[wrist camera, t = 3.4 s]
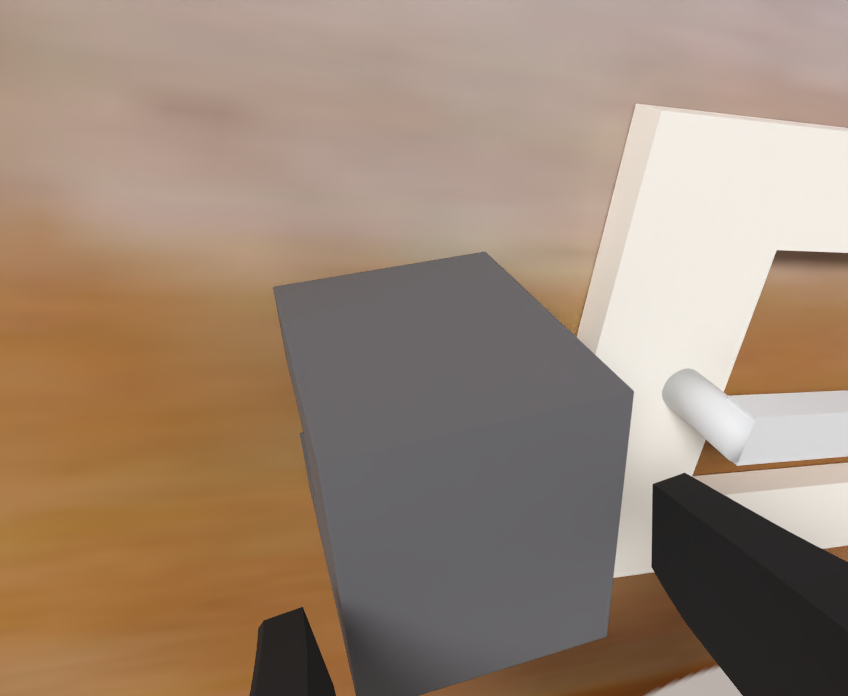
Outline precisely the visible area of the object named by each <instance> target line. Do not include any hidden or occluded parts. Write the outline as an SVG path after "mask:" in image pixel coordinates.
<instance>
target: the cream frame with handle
mask: <svg viewBox="0 0 848 696" xmlns="http://www.w3.org/2000/svg"><path fill="white" fill-rule="evenodd" d="M777 250H787V251H813V252H839V253H848V128H844V127H836V126H827V125H818V124H810V123H801V122H792V121H784V120H775V119H766V118H758V117H749V116H740V115H731V114H723V113H714V112H705V111H697V110H688V109H679V108H671V107H662V106H653V105H644V104H636V106H635V110H634V114H633V118H632V121H631V125H630V129H629V133H628V137H627V141H626V145H625V149H624V153H623V157H622V161H621V165H620V169H619V173H618V177H617V180H616V184H615V188H614V192H613V196H612V200H611V204H610V208H609V212H608V216H607V220H606V224H605V228H604V232H603V236H602V239H601V243H600V247H599V251H598V255H597V259H596V263H595V267H594V271H593V275H592V279H591V283H590V287H589V291H588V295H587V298H586V302H585V306H584V310H583V314H582V318H581V322H580V326H579V330H578V334H577V338H578V339H579V340H580V341H581V342H582V343H583V344H584V345H585V346H586V347H587V348H588V349H590V350H591V351H592V352H593V353H594V354H595V355H596V356H597V357H598V358H599V359H600V360H601V361H602V362H603V363H605V364H606V365H607V366H608V367H609V368H610V369H611V370H612V371H613V372H614V373H615V374H616V375H617V376H618V377H619V378H621V379H622V380H623V381H624V382H625V383H626V384H627V385H628V386H629V387H630V388H631V389H632V390H633V391H634V397H633V406H632V415H631V424H630V433H629V442H628V451H627V460H626V469H625V478H624V487H623V496H622V504H621V513H620V522H619V531H618V540H617V549H616V558H615V567H614V576H613V578H616V577H623V576H630V575H637V574H644V573H652V572H654V570H653V569H652V567H651V562H652V491H653V484H654V483H657V482H660V481H663V480H665V479H668V478H671V477H674V476H677V475H680V474H682V473H686V474H688V475H690V476H692V475H693V472H694V470H695V467H696V464H697V462H698V459H699V456H700V454H701V451H702V448H703V446H704V443H705V440H707V441H708V442H709V443H710V444H711V445H713V446H714V447H715V448H716V449H717V450H718V451H719V452H720V453H721V454H723V455H724V456H725V457H726V458H727V459H728V460H729V461H731V462H733V463H734V464H736V465H737V466H739V465H750V464H762V463H774V462H786V461H798V460H809V459H821V458H833V457H845V456H848V390H847V391H825V392H802V393H780V394H757V395H735V396H728V395H727V394H725V393H724V390H725V387H726V384H727V382H728V379H729V376H730V374H731V371H732V368H733V366H734V363H735V360H736V358H737V355H738V352H739V349H740V347H741V344H742V341H743V339H744V336H745V333H746V331H747V328H748V325H749V323H750V320H751V317H752V315H753V312H754V309H755V307H756V304H757V301H758V299H759V296H760V293H761V291H762V288H763V285H764V283H765V280H766V277H767V275H768V272H769V269H770V267H771V264H772V261H773V259H774V256H775V253H776V251H777ZM692 477H693V478H695V479H697V480H699V481H701V482H702V483H704V484H706V485H708V486H709V487H711V488H713V489H715V490H716V491H718V492H720V493H722V494H723V495H725V496H727V497H729V498H730V499H732V500H734V501H736V502H737V503H739V504H741V505H743V506H744V507H746V508H748V509H750V510H751V511H753V512H755V513H757V514H758V515H760V516H762V517H764V518H766V519H767V520H769V521H771V522H773V523H775V524H776V525H778V526H780V527H782V528H784V529H785V530H787V531H789V532H791V533H793V534H795V535H797V536H798V537H800V538H802V539H804V540H806V541H808V542H810V543H812V544H813V545H815V546H817V547H819V548H821V549H825V548H832V547H839V546H846V545H848V463H837V464H825V465H814V466H803V467H791V468H780V469H769V470H758V471H746V472H735V473H724V474H712V475H701V476H692Z"/></svg>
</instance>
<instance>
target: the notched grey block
mask: <svg viewBox="0 0 848 696" xmlns="http://www.w3.org/2000/svg"><path fill="white" fill-rule="evenodd" d="M273 289H274V294H275V300H276V305H277V311H278V316H279V322H280V327H281V333H282V338H283V344H284V349H285V354H286V359H287V364H288V368H289V372H290V376H291V381H292V385H293V389H294V393H295V397H296V402H297V406H298V410H299V414H300V419H301V423H302V427H303V433H300V437H301V442H302V448H303V453H304V459H305V464H306V469H307V475H308V480H309V486H310V491H311V495H312V500H313V504H314V509H315V513H316V518H317V522H318V527H319V531H320V536H321V540H322V545H323V549H324V554H325V558H326V563H327V567H328V572H329V576H330V581H331V585H332V590H333V594H334V599H335V603H336V608H337V612H338V617H339V621H340V626H341V630H342V635H343V639H344V644H345V648H346V653H347V657H348V662H349V666H350V671H351V675H352V680H353V684H354V689H355V693H356V696H418V695H422V694H425V693H428V692H431V691H434V690H438V689H441V688H444V687H447V686H451V685H454V684H457V683H460V682H463V681H467V680H470V679H473V678H476V677H479V676H483V675H486V674H489V673H492V672H495V671H499V670H502V669H505V668H508V667H511V666H515V665H518V664H521V663H524V662H527V661H531V660H534V659H537V658H540V657H543V656H547V655H550V654H553V653H556V652H559V651H563V650H566V649H569V648H572V647H575V646H579V645H582V644H585V643H588V642H591V641H595V640H598V639H601V638H604V637H607V630H608V621H609V612H610V603H611V594H612V585H613V576H614V567H615V558H616V549H617V540H618V531H619V522H620V513H621V504H622V496H623V487H624V478H625V469H626V460H627V451H628V442H629V433H630V424H631V415H632V406H633V397H634V391H633V390H632V389H631V388H630V387H629V386H628V385H627V384H626V383H625V382H624V381H623V380H622V379H621V378H619V377H618V376H617V375H616V374H615V373H614V372H613V371H612V370H611V369H610V368H609V367H608V366H607V365H606V364H605V363H603V362H602V361H601V360H600V359H599V358H598V357H597V356H596V355H595V354H594V353H593V352H592V351H591V350H590V349H588V348H587V347H586V346H585V345H584V344H583V343H582V342H581V341H580V340H579V339H578V338H577V337H576V336H575V335H574V334H572V333H571V332H570V331H569V330H568V329H567V328H566V327H565V326H564V325H563V324H562V323H561V322H560V321H559V320H557V319H556V318H555V317H554V316H553V315H552V314H551V313H550V312H549V311H548V310H547V309H546V308H545V307H544V306H543V305H541V304H540V303H539V302H538V301H537V300H536V299H535V298H534V297H533V296H532V295H531V294H530V293H529V292H528V291H526V290H525V289H524V288H523V287H522V286H521V285H520V284H519V283H518V282H517V281H516V280H515V279H514V278H513V277H512V276H510V275H509V274H508V273H507V272H506V271H505V270H504V269H503V268H502V267H501V266H500V265H499V264H498V263H497V262H495V261H494V260H493V259H492V258H491V257H490V256H489V255H488V254H487V253H486V252H481V253H475V254H469V255H463V256H457V257H451V258H445V259H439V260H433V261H427V262H421V263H415V264H409V265H403V266H397V267H391V268H385V269H379V270H372V271H366V272H360V273H354V274H348V275H342V276H336V277H330V278H324V279H318V280H312V281H306V282H300V283H294V284H288V285H282V286H276V287H273Z"/></svg>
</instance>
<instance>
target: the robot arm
mask: <svg viewBox="0 0 848 696" xmlns="http://www.w3.org/2000/svg"><path fill="white" fill-rule="evenodd" d="M651 567H652V569H653V570H654V572H655V574H656V575H657V577H658V579H659V580H660V582H661V584H662V586H663V587H664V589H665V591H666V592H667V594H668V596H669V597H670V599H671V600H672V602H673V603H674V605H675V607H676V608H677V610H678V611H679V613H680V615H681V616H682V618H683V619H684V621H685V622H686V624H687V625H688V626H689V628H690V629H691V630H692V631H693V633H694V634H695V635H696V637H697V638H698V639H699V640H700V642H701V643H702V644H703V646H704V647H705V648H706V649H707V651H708V652H709V653H710V655H711V656H712V657H713V658H714V660H715V661H716V662H717V664H718V665H719V666H720V667H721V669H722V670H723V671H724V672H725V674H726V675H727V676H728V677H729V679H730V680H731V681H732V683H733V684H734V685H735V686H736V687H737V689H738V690H739V691H740V693H741V694H742V695H743V696H848V562H846V561H844V560H842V559H840V558H838V557H836V556H835V555H833V554H831V553H829V552H827V551H825V550H823V549H821V548H819V547H817V546H815V545H813V544H812V543H810V542H808V541H806V540H804V539H802V538H800V537H798V536H797V535H795V534H793V533H791V532H789V531H787V530H785V529H784V528H782V527H780V526H778V525H776V524H775V523H773V522H771V521H769V520H767V519H766V518H764V517H762V516H760V515H758V514H757V513H755V512H753V511H751V510H750V509H748V508H746V507H744V506H743V505H741V504H739V503H737V502H736V501H734V500H732V499H730V498H729V497H727V496H725V495H723V494H722V493H720V492H718V491H716V490H715V489H713V488H711V487H709V486H708V485H706V484H704V483H702V482H701V481H699V480H697V479H695V478H693V477H692V476H690V475H688V474H686V473H682V474H680V475H677V476H674V477H671V478H668V479H665V480H663V481H660V482H657V483H654V484H653V491H652V562H651ZM250 696H336V694H335V690H334V686H333V683H332V681H331V678H330V675H329V673H328V670H327V668H326V665H325V663H324V660H323V658H322V655H321V652H320V650H319V647H318V645H317V642H316V640H315V637H314V635H313V632H312V629H311V627H310V624H309V622H308V619H307V617H306V614H305V612H304V609H303V607H301V608H298V609H296V610H293V611H290V612H287V613H284V614H281V615H278V616H276V617H273V618H270V619H267V620H264V621H263V623H262V624H261V625H260V627H259V630H258V642H257V651H256V659H255V666H254V673H253V679H252V685H251V691H250Z"/></svg>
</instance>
